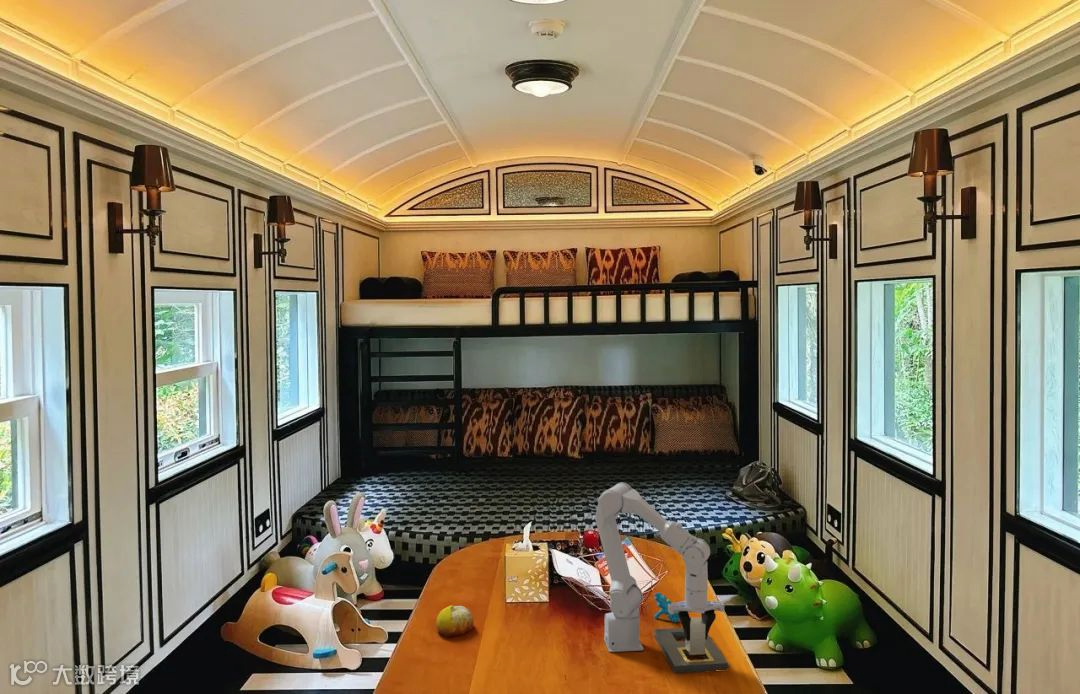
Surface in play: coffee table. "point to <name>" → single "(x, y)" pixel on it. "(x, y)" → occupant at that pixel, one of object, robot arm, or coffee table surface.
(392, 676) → the coffee table surface
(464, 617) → the fruit
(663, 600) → the teal lobed piece
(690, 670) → the hole plate
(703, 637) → the steel peg
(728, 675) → the coffee table surface
